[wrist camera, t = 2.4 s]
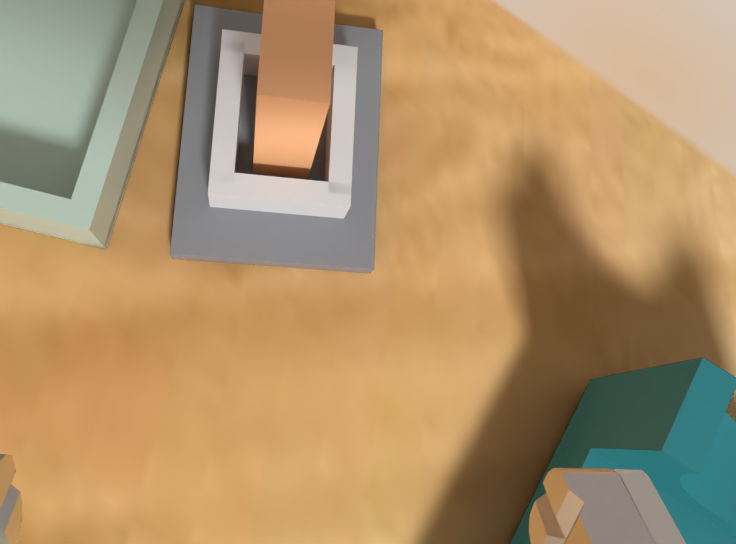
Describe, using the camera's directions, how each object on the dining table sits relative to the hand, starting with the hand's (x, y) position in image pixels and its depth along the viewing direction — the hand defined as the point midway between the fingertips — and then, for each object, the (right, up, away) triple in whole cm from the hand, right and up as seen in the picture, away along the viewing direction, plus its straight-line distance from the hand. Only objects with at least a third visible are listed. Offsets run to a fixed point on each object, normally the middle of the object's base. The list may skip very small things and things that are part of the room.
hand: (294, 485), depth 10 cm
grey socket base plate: (-3, +10, +22) cm, 24 cm away
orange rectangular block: (-3, +10, +21) cm, 23 cm away
